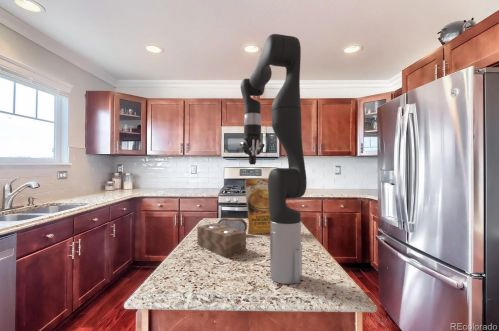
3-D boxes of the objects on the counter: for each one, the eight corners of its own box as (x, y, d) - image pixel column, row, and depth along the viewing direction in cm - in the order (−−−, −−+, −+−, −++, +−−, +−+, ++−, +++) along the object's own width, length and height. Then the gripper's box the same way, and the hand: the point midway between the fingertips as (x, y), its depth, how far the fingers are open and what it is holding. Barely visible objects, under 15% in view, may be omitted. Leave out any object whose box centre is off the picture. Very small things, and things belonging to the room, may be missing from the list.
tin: (247, 234, 126) (247, 217, 127) (246, 236, 123) (246, 219, 123) (217, 233, 128) (217, 217, 128) (216, 235, 125) (216, 218, 125)
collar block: (245, 252, 100) (246, 231, 100) (225, 257, 93) (225, 236, 93) (216, 240, 116) (216, 223, 116) (197, 244, 109) (197, 226, 109)
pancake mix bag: (243, 231, 132) (243, 178, 132) (277, 229, 136) (277, 178, 137) (245, 235, 125) (245, 178, 126) (281, 232, 130) (281, 178, 130)
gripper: (246, 121, 103) (246, 164, 103) (269, 125, 111) (269, 164, 111) (235, 124, 109) (235, 164, 108) (257, 127, 117) (257, 164, 117)
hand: (252, 164), depth 110 cm, fingers closed
